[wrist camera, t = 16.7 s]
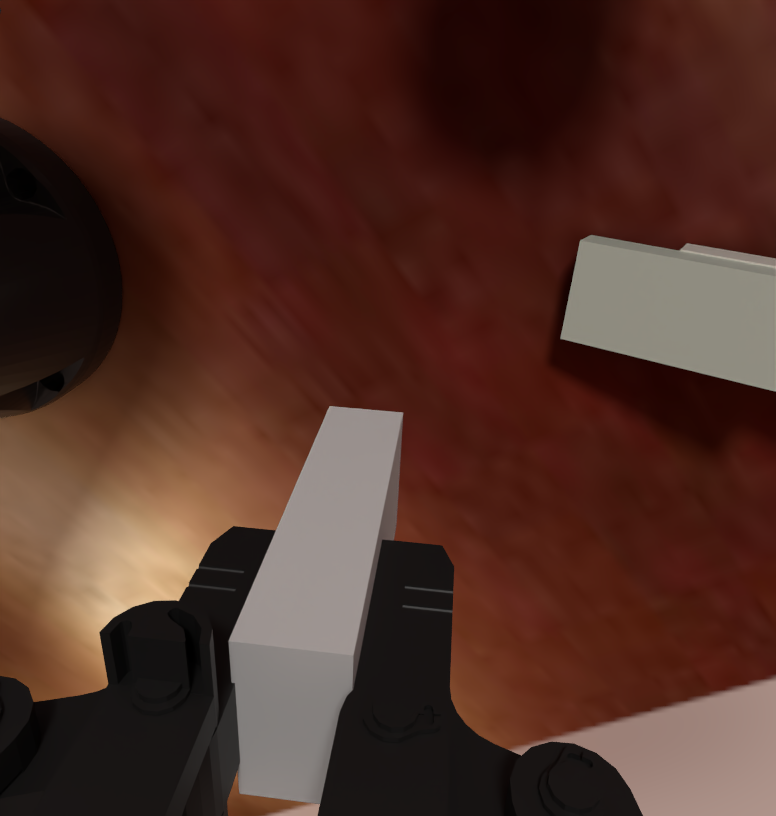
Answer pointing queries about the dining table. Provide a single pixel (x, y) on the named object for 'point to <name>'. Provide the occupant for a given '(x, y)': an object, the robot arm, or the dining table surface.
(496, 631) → the dining table surface
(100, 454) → the dining table surface
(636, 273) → the end tile
